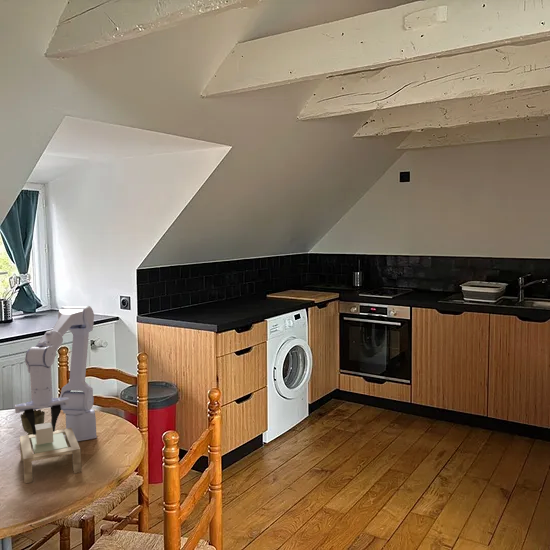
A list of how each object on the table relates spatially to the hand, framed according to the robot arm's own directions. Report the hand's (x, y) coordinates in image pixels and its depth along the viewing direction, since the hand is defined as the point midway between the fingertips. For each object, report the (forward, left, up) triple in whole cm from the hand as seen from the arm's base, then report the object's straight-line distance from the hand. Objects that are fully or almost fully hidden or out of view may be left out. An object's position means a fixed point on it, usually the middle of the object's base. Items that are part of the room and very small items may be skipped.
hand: (43, 432), depth 167 cm
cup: (+1, -26, -11) cm, 28 cm away
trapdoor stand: (-1, 0, -10) cm, 10 cm away
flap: (-2, 0, -7) cm, 7 cm away
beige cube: (0, 0, -2) cm, 3 cm away
